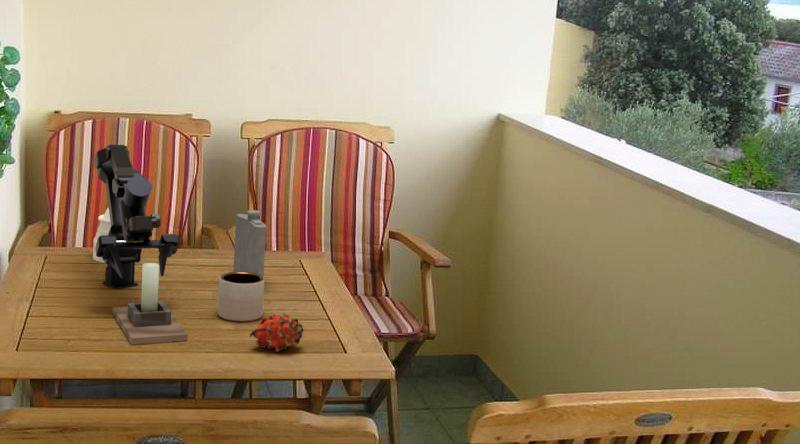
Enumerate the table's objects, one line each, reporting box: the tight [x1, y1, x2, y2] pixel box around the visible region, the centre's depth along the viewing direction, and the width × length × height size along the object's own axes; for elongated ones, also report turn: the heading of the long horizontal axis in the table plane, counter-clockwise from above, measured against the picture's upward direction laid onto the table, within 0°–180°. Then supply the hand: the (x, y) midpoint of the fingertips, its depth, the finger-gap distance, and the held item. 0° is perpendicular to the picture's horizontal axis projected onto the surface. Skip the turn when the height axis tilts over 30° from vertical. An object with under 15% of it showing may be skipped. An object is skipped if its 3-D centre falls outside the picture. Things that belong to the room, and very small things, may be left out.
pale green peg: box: [140, 262, 160, 312], centre depth 213 cm, size 4×4×13 cm
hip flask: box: [232, 209, 267, 278], centre depth 253 cm, size 16×4×20 cm, turn 31°
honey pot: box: [92, 206, 111, 264], centre depth 267 cm, size 13×13×18 cm
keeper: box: [112, 301, 188, 346], centre depth 214 cm, size 22×12×4 cm, turn 27°
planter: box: [216, 271, 266, 323], centre depth 227 cm, size 11×11×10 cm
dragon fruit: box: [249, 312, 305, 353], centre depth 208 cm, size 8×8×12 cm
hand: (142, 276), depth 220 cm, fingers open, 9 cm apart
